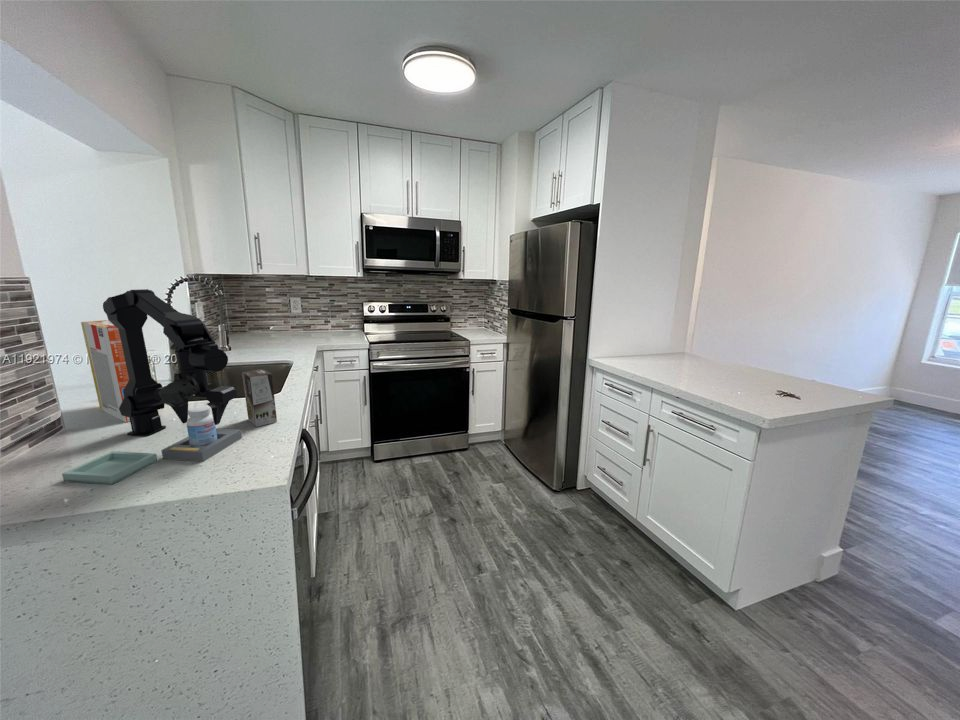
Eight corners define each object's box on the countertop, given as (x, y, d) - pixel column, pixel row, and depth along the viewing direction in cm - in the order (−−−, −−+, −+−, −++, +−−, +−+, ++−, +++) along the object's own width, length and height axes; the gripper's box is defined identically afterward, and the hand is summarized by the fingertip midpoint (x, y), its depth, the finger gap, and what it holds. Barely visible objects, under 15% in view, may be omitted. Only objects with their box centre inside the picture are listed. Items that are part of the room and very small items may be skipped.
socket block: (163, 459, 96) (161, 449, 95) (206, 436, 110) (204, 427, 109) (203, 461, 95) (201, 451, 95) (242, 438, 109) (240, 429, 108)
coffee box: (278, 422, 121) (272, 373, 117) (255, 427, 116) (249, 377, 113) (269, 414, 127) (263, 368, 123) (247, 419, 123) (241, 371, 119)
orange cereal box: (158, 414, 125) (141, 325, 118) (126, 422, 118) (106, 328, 112) (130, 402, 136) (113, 319, 130) (100, 408, 130) (80, 321, 123)
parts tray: (64, 481, 85) (61, 473, 85) (113, 458, 96) (112, 451, 96) (112, 484, 84) (111, 476, 84) (157, 460, 95) (156, 453, 95)
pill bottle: (204, 454, 99) (197, 414, 96) (185, 451, 100) (178, 412, 98) (224, 444, 105) (218, 406, 102) (205, 442, 106) (199, 404, 103)
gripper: (127, 373, 90) (139, 434, 94) (200, 376, 89) (210, 438, 92) (168, 363, 101) (178, 417, 105) (234, 365, 100) (242, 421, 103)
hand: (201, 423), depth 101 cm, fingers open, 9 cm apart
